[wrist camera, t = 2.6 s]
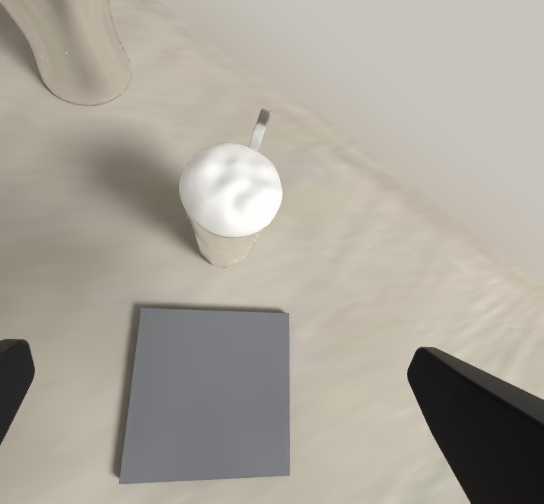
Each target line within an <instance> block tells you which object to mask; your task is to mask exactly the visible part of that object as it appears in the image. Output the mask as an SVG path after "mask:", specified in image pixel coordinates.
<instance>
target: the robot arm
mask: <svg viewBox="0 0 544 504" xmlns="http://www.w3.org/2000/svg"><path fill="white" fill-rule="evenodd" d="M34 373H35V367H34V363H33V359H32V355H31V351H30V347H29V344H28V342H27V341H26V340H23V339H5V340H1V341H0V445H1V443H2V441H3V439H4V437H5V435H6V433H7V431H8V429H9V427H10V425H11V423H12V421H13V419H14V417H15V415H16V413H17V411H18V409H19V407H20V405H21V403H22V401H23V399H24V397H25V395H26V393H27V391H28V389H29V387H30V385H31V383H32V381H33V378H34ZM407 377H408V381H409V384H410V386H411V388H412V390H413V393H414V395H415V397H416V399H417V402H418V404H419V406H420V409H421V411H422V413H423V415H424V418H425V420H426V422H427V424H428V426H429V429H430V431H431V433H432V435H433V437H434V438H435V440H436V442H437V444H438V446H439V448H440V449H441V451H442V453H443V455H444V457H445V458H446V460H447V462H448V464H449V465H450V467H451V469H452V471H453V473H454V474H455V476H456V478H457V480H458V482H459V483H460V485H461V487H462V489H463V490H464V492H465V494H466V496H467V498H468V499H469V501H470V503H471V504H544V400H543V399H541V398H539V397H536V396H534V395H532V394H530V393H528V392H526V391H524V390H522V389H520V388H518V387H516V386H514V385H512V384H510V383H507V382H505V381H503V380H501V379H499V378H497V377H495V376H493V375H491V374H489V373H487V372H485V371H483V370H480V369H478V368H476V367H474V366H472V365H470V364H468V363H466V362H464V361H462V360H460V359H458V358H456V357H454V356H451V355H449V354H447V353H445V352H443V351H441V350H439V349H437V348H434V347H420V348H418V349H417V350H416V352H415V354H414V356H413V359H412V361H411V363H410V365H409V368H408V371H407Z"/></svg>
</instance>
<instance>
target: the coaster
mask: <svg viewBox="0 0 544 504" xmlns="http://www.w3.org/2000/svg"><path fill="white" fill-rule="evenodd" d="M271 476H290V427H289V313H269V312H241V311H212V310H184V309H156V308H141V313H140V321H139V329H138V337H137V344H136V352H135V360H134V368H133V376H132V384H131V392H130V400H129V408H128V416H127V424H126V432H125V439H124V447H123V455H122V463H121V471H120V479H119V484H130V483H151V482H171V481H191V480H211V479H231V478H251V477H271Z"/></svg>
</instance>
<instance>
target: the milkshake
mask: <svg viewBox="0 0 544 504" xmlns="http://www.w3.org/2000/svg"><path fill="white" fill-rule="evenodd" d="M270 116H271V112H270V111H268V110H266V109H264V108H262V109H261V111H260V114H259V117H258V120H257V123H256V126H255V129H254V132H253V135H252V138H251V141H250V144H249V147H246V146H243V145H239V144H234V143H222V144H217V145H214V146H211V147H208V148H206V149H203V150H202V151H200V152H198V153H197V154H196V155H195V156H194V157H193V158H192V159H191V160H190V161H189V163H188V164H187V165H186V167H185V168H184V170H183V172H182V174H181V177H180V182H179V194H180V198H181V201H182V204H183V206H184V209H185V211H186V213H187V216H188V218H189V221H190V223H191V226H192V228H193V231H194V234H195V237H196V240H197V243H198V247H199V250H200V253H201V255H202V256H203V257H204V258H205V259H206V260H208V261H209V262H210V263H211V264H212V265H215V266H222V267H230V266H232V265H233V264H235V263H238V262H240V261H241V260H242V259H243V258H244V256H245V255H246V253H247V252H248V250H249V249H250V248H251V246H252V245H253V243H254V242H255V240H256V239H257V238H258V236H259V235H260V234H261V233H262V231H263V230H264V229H265V228H266V227H267V225H268V224H269V223H270V222H271V221H272V220H273V218H274V217H275V215H276V213H277V211H278V209H279V207H280V204H281V201H282V187H281V183H280V179H279V176H278V173H277V171H276V169H275V167H274V166H273V164H272V163H271V162H270V161H269V160H268V159H267V158H265V157H264V156H263V155H261V154H260V153H258V149H259V147H260V144H261V141H262V138H263V135H264V133H265V130H266V127H267V124H268V121H269V118H270Z"/></svg>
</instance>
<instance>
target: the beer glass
mask: <svg viewBox="0 0 544 504" xmlns="http://www.w3.org/2000/svg"><path fill="white" fill-rule="evenodd" d="M0 4H1V5H2V6H3V8H4V9H5V10H6V11H7V13H8V14H9V15H10V16H11V18H12V19H13V20H14V22H15V23H16V24H17V26H18V27H19V28H20V30H21V32H22V33H23V35H24V36H25V38H26V40H27V42H28V44H29V45H30V48H31V50H32V53H33V55H34V58H35V61H36V65H37V68H38V71H39V73H40V76H41V78H42V80H43V82H44V84H45V85H46V87H47V88H48V89H49V90H50V91H51V92H52V93H53V94H55V95H56V96H57V97H59V98H61V99H63V100H65V101H68V102H71V103H74V104H80V105H97V104H102V103H105V102H108V101H111V100H113V99H115V98H116V97H118V96H119V95H121V94H122V93H123V92H124V91H125V90H126V88H127V87H128V85H129V83H130V81H131V76H132V67H131V63H130V60H129V58H128V55H127V53H126V51H125V49H124V47H123V45H122V43H121V41H120V39H119V37H118V35H117V32H116V29H115V26H114V23H113V18H112V14H111V6H110V0H0Z"/></svg>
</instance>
